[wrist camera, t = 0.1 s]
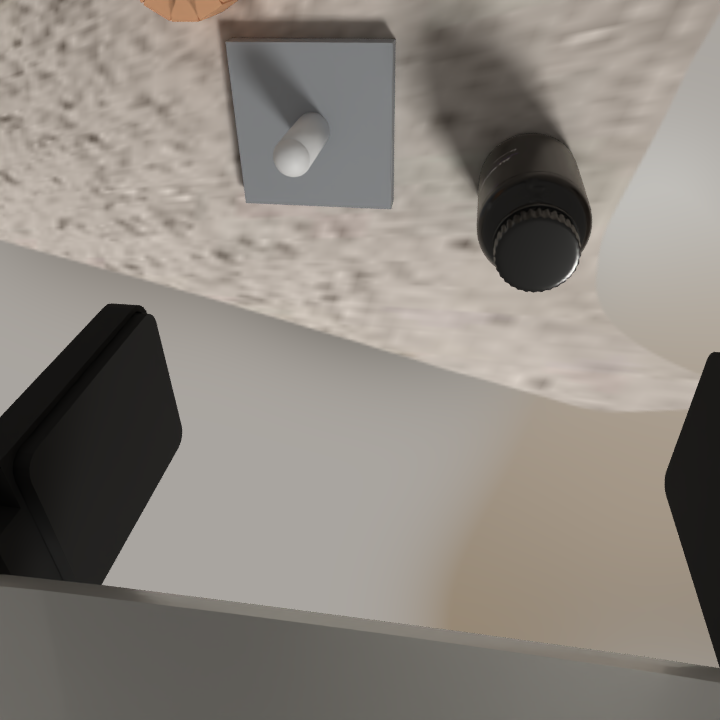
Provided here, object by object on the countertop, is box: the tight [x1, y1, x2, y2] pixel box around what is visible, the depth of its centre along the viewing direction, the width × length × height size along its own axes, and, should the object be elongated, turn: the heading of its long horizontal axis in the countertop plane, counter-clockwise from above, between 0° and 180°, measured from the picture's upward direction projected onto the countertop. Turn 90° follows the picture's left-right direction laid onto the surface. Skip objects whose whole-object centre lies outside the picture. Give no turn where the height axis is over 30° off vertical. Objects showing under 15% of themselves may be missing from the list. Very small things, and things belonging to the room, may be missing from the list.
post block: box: [226, 38, 395, 209], centre depth 42 cm, size 11×11×8 cm
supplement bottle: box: [477, 133, 592, 292], centre depth 40 cm, size 7×7×12 cm
